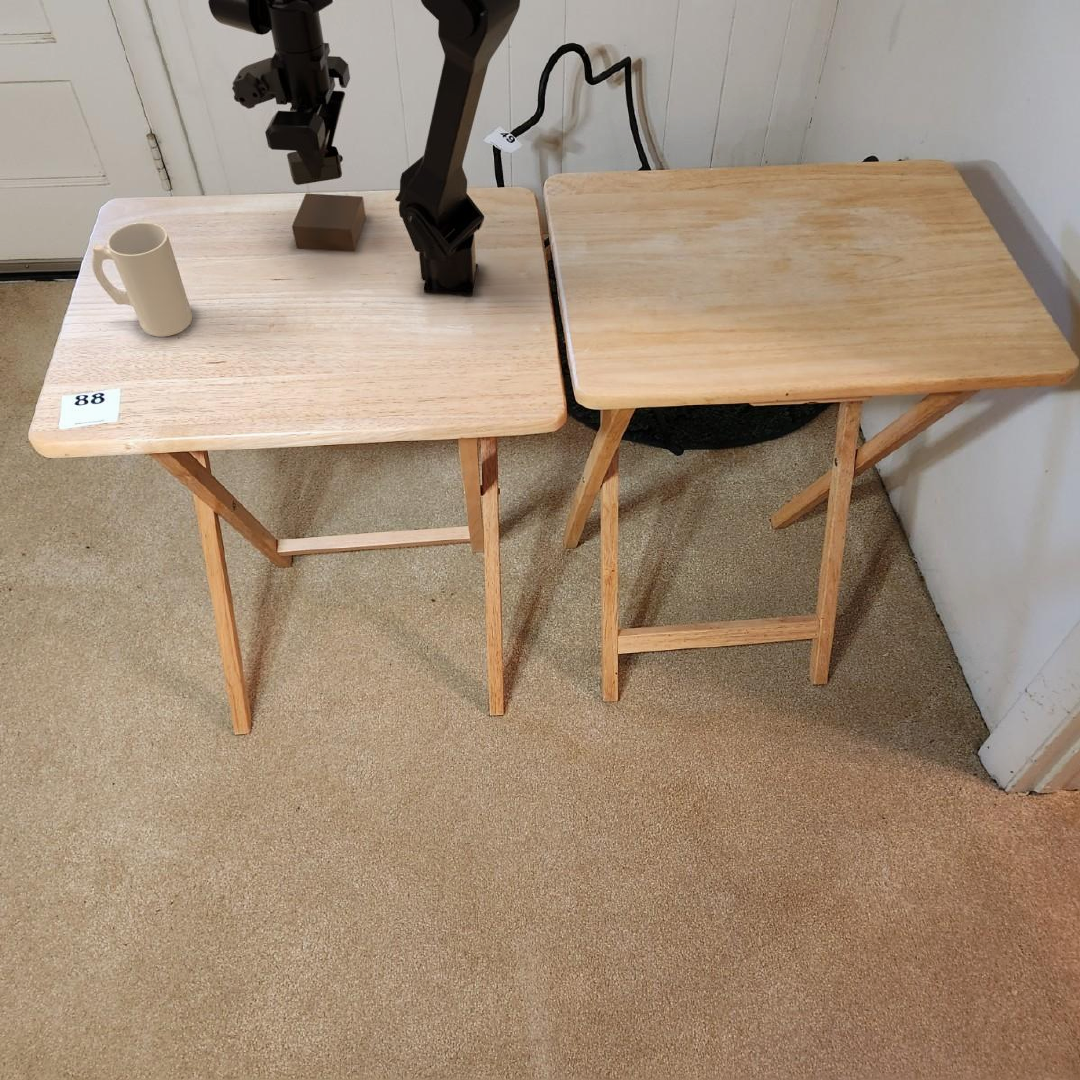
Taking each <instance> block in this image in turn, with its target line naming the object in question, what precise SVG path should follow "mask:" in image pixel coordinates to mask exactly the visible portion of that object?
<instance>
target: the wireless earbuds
mask: <svg viewBox="0 0 1080 1080" xmlns="http://www.w3.org/2000/svg"><path fill="white" fill-rule="evenodd" d="M286 158H287V162H288V167H289V172H290V176H291V180H292V182H293V184H295V185H297V186H301V185H306V184H307V185H308V184H312V183H319V182H325V181H332V180H337V179H341V177H342V176H343V171H342V164H341V163H342V162H343V161H344V157H343V156H342V154H340V153H339V150H338V147H336V146H334V145H332V146H329V147H326V153H325V158H324V163H323V168H322V173H321V177H320V179H313V178H311V176H310V174H309V173H308V171H307V169H306V167H305V165H304V164H303V162H302V160H301V158H300V156H299V155H298V153H297V151H291V152H288V153H287V154H286Z"/></svg>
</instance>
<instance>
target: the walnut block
mask: <svg viewBox="0 0 1080 1080" xmlns="http://www.w3.org/2000/svg"><path fill="white" fill-rule="evenodd" d="M301 201H302V202H301V204H300V206H299V209H298V211H297V213H296V215H295V218H294V220H293V222H292V225H291V228H292V233H293V238H294V244H295V247H296V249H297V250H298V249H301V250H316V251H317V250H318V251H332V252H334V251H336V252H349V253H350V252H351V253H354V252H355V251H356V249H357V245H358V243H359V240H360V237H361V234H362V232H363V228H364V226H365V222H366V218H367V217H366V210H365V203H364V197H363V196H361V195H360V196H358V195H341V194H325V193H324V194H323V193H305V194H304V197H303V199H302V200H301Z"/></svg>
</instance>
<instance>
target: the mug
mask: <svg viewBox="0 0 1080 1080" xmlns="http://www.w3.org/2000/svg"><path fill="white" fill-rule="evenodd" d="M106 246H107V247H106ZM173 250H174V249H173V247H172V243H171V241H170V238H169V235H168V231H167V229H166V228H165V227H163V226H162V225H160V224H159V223H154V222H150V221H149V222H147V221H140V222H139V221H138V222H134V223H128V224H126V225H123V226H121V227H119V228H117V229H116V230H114V231H113V232H111V234H110V235H109V236H108V238H107V240H106V245H103V244H93V246H92V258H91V268H92V271H93V274H94V277H95V278H96V281H97V282H98V283H99V285H100V287H101V288H102V289H103V291H105V292H106V294H107V295H108V297H110V298H111V299H112V300H113V302H114V303H115V304H116V305H126V306H129V307H132V308H133V310H134V313H135V315H136V317H137V320H138V322H139V324H140V327H141V329H142V330H143V331H144V332H145V333H146V334H148V335H150V336H153V337H160V338H161V337H162V338H163V337H170V336H174V335H177V334H179V333H181V332H183V331H185V330H186V329H187V328H189V326H190V325H191V323H192V321H193V314H192V310H191V305H190V303H189V299H188V296H187V293H186V290H185V287H184V284H183V280H182V277H181V274H180V270H179V266H178V264H177V261H176V257H175V254H174V251H173ZM106 260H111V261H113V263H114V265H115V267H116V270H117V272H118V274H119V277H120V279H121V281H122V284H123V286H124V289H125V291H124V290H120V289H119V288H117V287H116V286H114V284H112V282H110V280H109V279H108V277H107V276H106V275H105V272H104V270H103V262H104V261H106Z"/></svg>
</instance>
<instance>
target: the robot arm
mask: <svg viewBox="0 0 1080 1080" xmlns="http://www.w3.org/2000/svg"><path fill="white" fill-rule="evenodd" d="M333 2H334V0H208V3H207V4H208V8H209V11H210V14H211V15H212V17H213V18H214V20H216V21H217V22H218V23H220V24H221V25H225V26H228V27H232V28H236V29H239V30H242V31H245V32H249V33H252V34H256V35H261V36H262V35H267V34H269V33H271V36H272V41H273V47H274V51H275V52H274V54H273V55H272V57H268V58H265V59H262V60H259V61H256V62H253V63H251V64H247V65H246V66H243V67H242V68H241V69H240V70H239V71H238V73H237V75H236V76H235V78H234V79H233V81H232V87H231V89H232V91H233V93H234V95H233V99H234V101H235V102H238V103H239V104H240V105H241V106H242V107H244V108H246V109H248V110H249V109H253V108H255V107H256V106H257V105H259V104H262V103H263V104H264V103H265V102H268V101H271V100H273V99H275V104H276V105H282V106H286V105H288V104H290V108H289V110H277V112H276V113H275V114H274V115H273V116H272V118H271V120H270V122H269V124H268V125H267V127H266V130H265V132H264V133H265V137H266V143H267V147H268V148H269V149H271V150H273V151H274V150H275V151H291V152H297V153H298V155H299V156H300V158H301V160H302V162H303V164H304V165H305V167H306V169H307V171H308V173H309V174H310V176H311V178H313V179H320V177H321V173H322V168H323V163H324V158H325V153H326V147H329V146H333V144H334V140H335V137H336V131H337V127H338V124H339V120H340V115H341V111H342V109H343V108H342V107H343V105H344V100H345V96H346V92H345V91H344V90H335V88H336V81H335V79H338V85H339V86H340V88H342V89H347V87H348V85H349V82H350V81H351V75H350V68H349V64H348V62H346V61H345V60H344V59H343V58H342V57H341V56H334V55H333V56H332V55H330V53H331V49H330V43H329V42H324V36H323V30H322V23H321V18H320V17H321V16H320V11H322V10H324V9H325V8H327V7H329V6H330V5H332V4H333ZM420 2H421V4H422V5H423V7H424V8H425V9H426V10H427V11H428V12H429V13H430V14H431V15H432V16H433V17H434V18H435V19H436V20H437V21H438V22H437V24H438V26H437V36H438V39H439V42H440V46H441V47H442V51H443V54H444V59H443V64H442V69H441V73H440V79H439V83H438V87H437V91H436V97H435V101H434V106H433V111H432V115H431V119H430V124H429V129H428V132H427V133H428V134H427V138H426V143H425V148H424V152H423V155H422V156H421V157H420V158H419V159H417V160H416V161H415V162H413V164H411V165H410V166H409V167H407V168H406V169H405V170H404V171H403V172H402V173H401V175H400V179H399V192H398V195H397V196H396V197H395V198H394V201H395V202H399V204H398V213H399V217H400V218H401V219H402V222H403V224H404V227H405V229H406V232H407V234H408V236H409V239H410V241H411V244H412V247H413V249H414V251H415V252H417V253H419V254H418V259H419V267H420V268H419V269H420V278H421V280H422V281H424V283H423V284H424V285H423V288H422V289H423V292H424V293H425V294H433V295H447V296H449V295H450V296H465V297H466V296H468V297H470V296H472V295H474V291H475V288H476V282H477V277H478V273H479V264H478V263H476V259H477V258H476V242H475V241H476V239H475V233H476V232H477V231H479V230H480V229H482V226H483V223H484V220H485V215H484V213H483V212H482V210H480V208H479V207H478V206H477V204H475V202H474V201H473V200H472V198H471V197H470V196H469V194H468V178H467V175H466V173H465V171H464V168H463V164H464V160H465V157H466V153H467V148H468V144H469V140H470V137H471V133H472V130H473V125H474V121H475V117H476V113H477V109H478V105H479V102H480V97H481V95H482V91H483V86H484V83H485V79H486V76H487V75H486V74H487V71H488V68H489V64H490V61H491V60H492V58H493V56H494V55H495V53H496V52H497V50H498V48H499V47H500V46H501V44H502V42H503V41H504V39H505V38H506V36H507V35H508V33H509V31H510V29H511V27H512V24H513V23H514V20H515V18H516V16H517V14H518V12H519V9H520V5H521V0H420Z"/></svg>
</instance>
